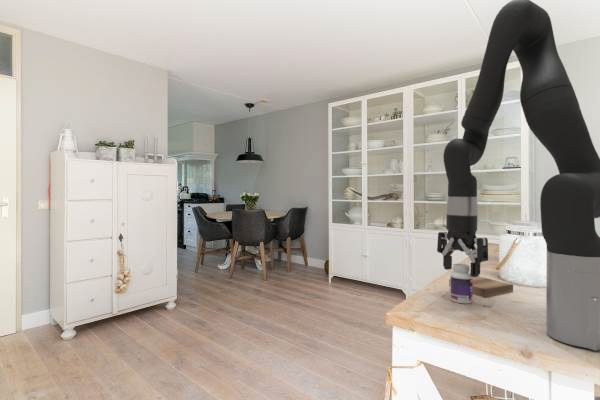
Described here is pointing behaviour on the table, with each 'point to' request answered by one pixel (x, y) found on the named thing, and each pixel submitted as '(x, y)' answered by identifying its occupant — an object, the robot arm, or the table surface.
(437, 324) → the table surface
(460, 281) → the pill bottle
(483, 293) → the walnut block
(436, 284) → the table surface
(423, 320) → the table surface
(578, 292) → the robot arm
